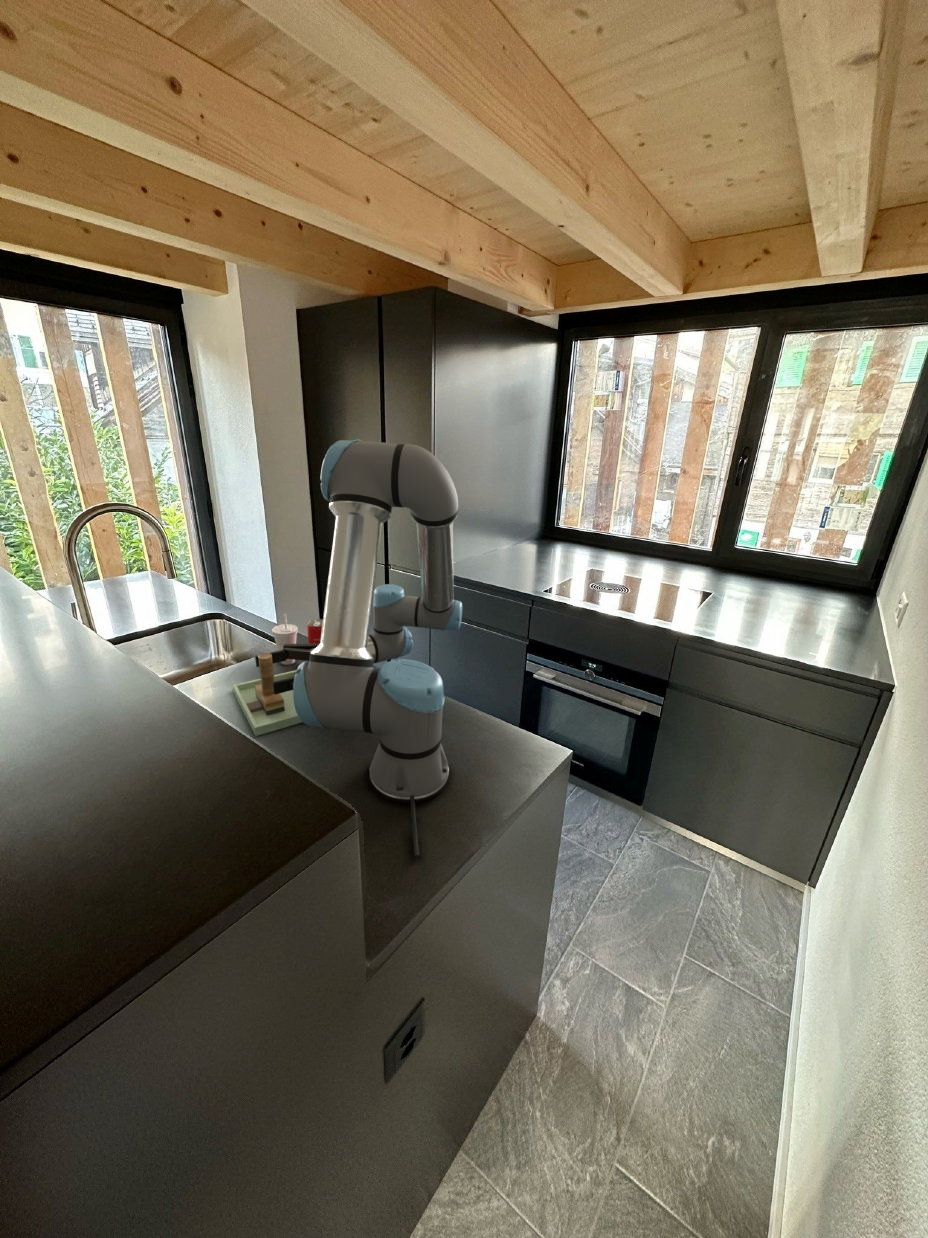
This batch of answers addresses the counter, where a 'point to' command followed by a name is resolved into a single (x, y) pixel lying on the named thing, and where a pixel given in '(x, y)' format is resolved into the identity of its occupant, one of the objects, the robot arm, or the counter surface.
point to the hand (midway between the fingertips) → (264, 674)
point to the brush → (268, 687)
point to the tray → (259, 718)
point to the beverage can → (314, 631)
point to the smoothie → (285, 637)
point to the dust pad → (254, 706)
